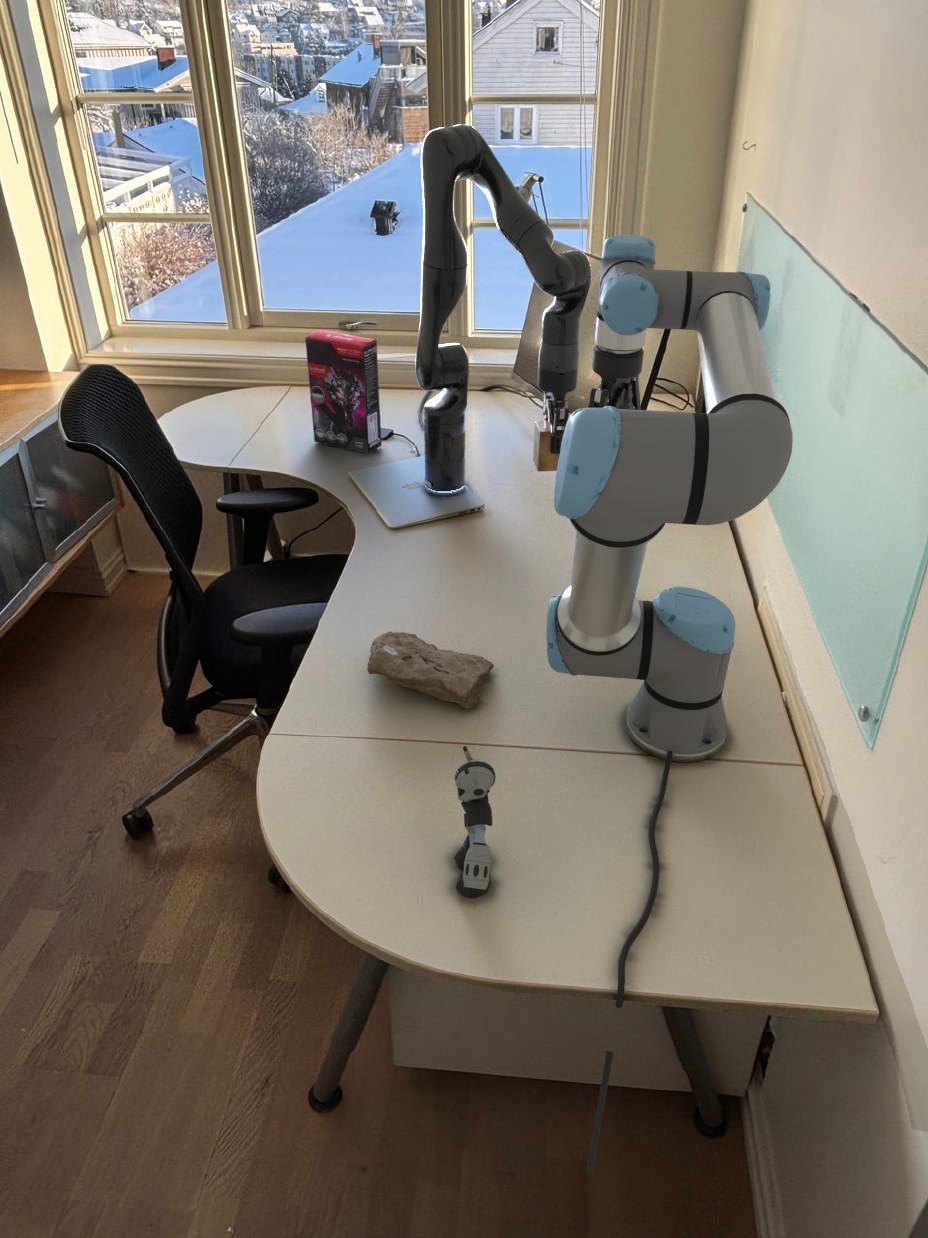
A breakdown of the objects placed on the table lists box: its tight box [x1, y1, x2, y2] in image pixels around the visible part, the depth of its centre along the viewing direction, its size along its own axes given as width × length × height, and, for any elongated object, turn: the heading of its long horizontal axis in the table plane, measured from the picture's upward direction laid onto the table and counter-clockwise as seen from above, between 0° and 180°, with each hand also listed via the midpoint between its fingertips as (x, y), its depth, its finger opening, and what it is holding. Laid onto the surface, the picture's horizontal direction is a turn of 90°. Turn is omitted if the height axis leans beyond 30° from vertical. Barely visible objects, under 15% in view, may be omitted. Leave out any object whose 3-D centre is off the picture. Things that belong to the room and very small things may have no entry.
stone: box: [366, 631, 495, 710], centre depth 151 cm, size 21×15×6 cm
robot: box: [453, 745, 496, 899], centre depth 114 cm, size 20×5×20 cm, turn 3°
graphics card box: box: [304, 329, 382, 454], centre depth 226 cm, size 17×7×27 cm, turn 62°
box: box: [532, 420, 561, 473], centre depth 185 cm, size 25×6×8 cm, turn 96°
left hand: (552, 446), depth 184 cm, fingers closed on box, 5 cm apart
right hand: (605, 475), depth 151 cm, fingers open, 13 cm apart
